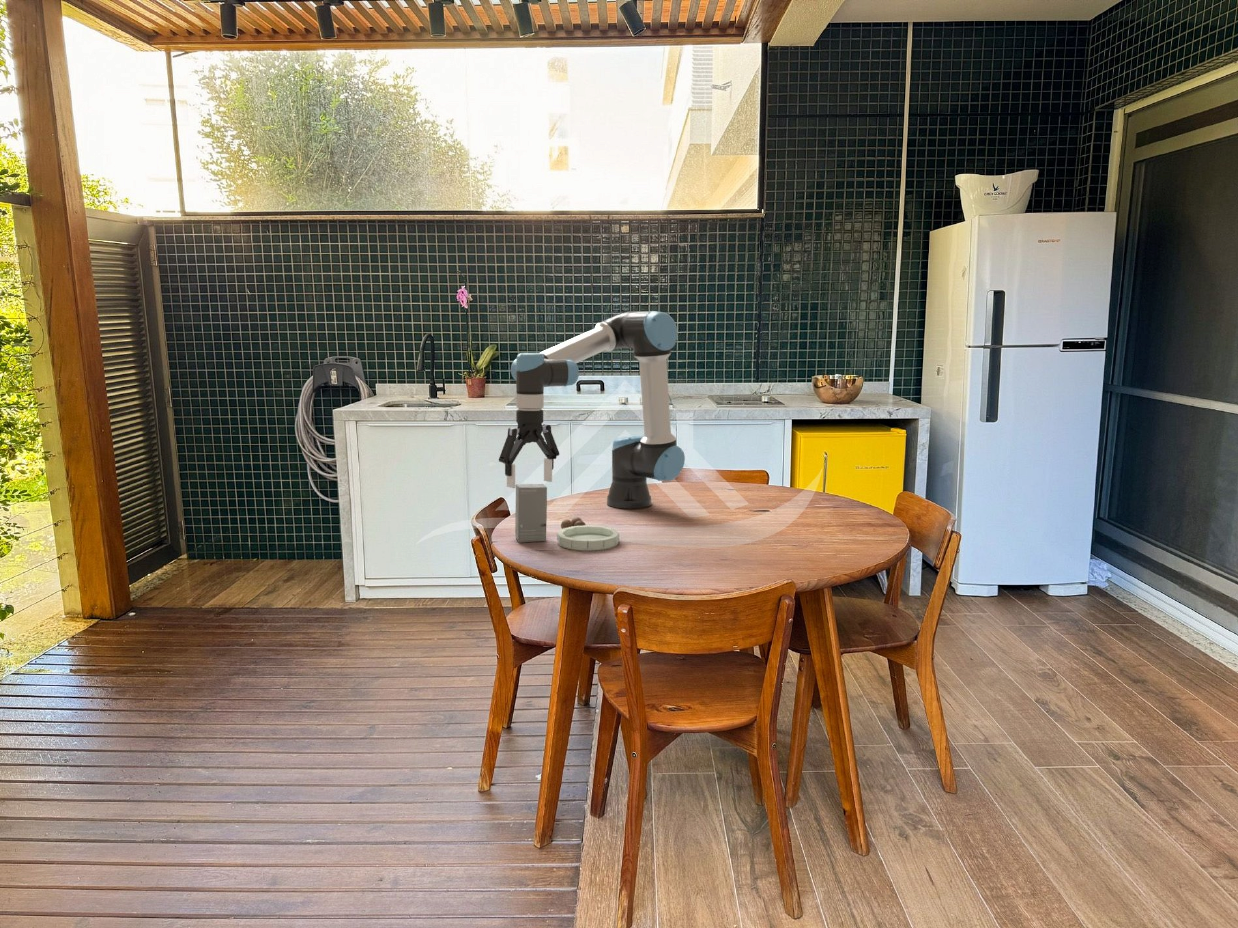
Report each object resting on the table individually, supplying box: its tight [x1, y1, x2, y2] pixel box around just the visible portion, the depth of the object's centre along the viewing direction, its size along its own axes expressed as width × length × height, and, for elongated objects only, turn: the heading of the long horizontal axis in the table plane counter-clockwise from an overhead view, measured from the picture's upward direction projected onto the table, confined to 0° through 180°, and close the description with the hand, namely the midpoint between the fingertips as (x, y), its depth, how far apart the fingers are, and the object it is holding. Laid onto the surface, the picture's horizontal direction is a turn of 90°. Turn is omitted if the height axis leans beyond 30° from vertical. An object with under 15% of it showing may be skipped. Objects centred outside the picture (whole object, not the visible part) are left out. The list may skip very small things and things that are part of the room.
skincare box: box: [514, 483, 548, 543], centre depth 236 cm, size 8×7×16 cm
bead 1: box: [560, 519, 573, 529], centre depth 246 cm, size 4×4×4 cm
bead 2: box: [570, 517, 583, 526], centre depth 249 cm, size 4×4×4 cm
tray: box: [556, 524, 620, 552], centre depth 234 cm, size 17×17×3 cm
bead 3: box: [574, 520, 587, 526], centre depth 245 cm, size 4×4×4 cm
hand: (529, 484), depth 235 cm, fingers open, 13 cm apart
